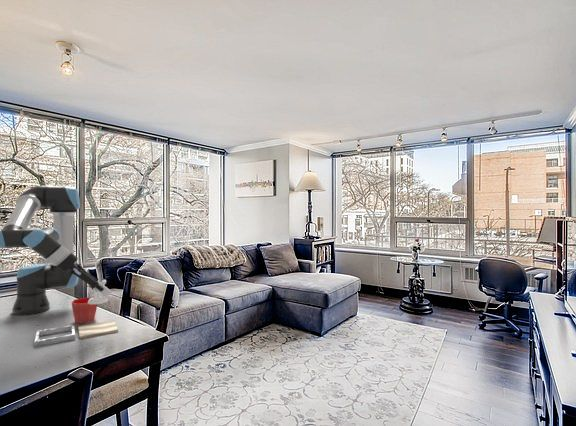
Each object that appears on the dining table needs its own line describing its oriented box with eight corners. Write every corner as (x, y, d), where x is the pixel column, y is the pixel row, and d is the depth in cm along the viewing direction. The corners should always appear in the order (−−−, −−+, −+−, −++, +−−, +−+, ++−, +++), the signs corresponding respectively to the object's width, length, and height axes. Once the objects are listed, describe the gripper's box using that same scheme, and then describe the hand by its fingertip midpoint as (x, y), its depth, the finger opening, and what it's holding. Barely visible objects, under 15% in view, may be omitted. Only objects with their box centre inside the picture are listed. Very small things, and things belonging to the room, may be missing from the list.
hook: (112, 292, 136) (97, 284, 135) (97, 313, 138) (82, 305, 136) (119, 285, 144) (105, 276, 142) (105, 305, 145) (91, 297, 143)
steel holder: (36, 335, 133) (36, 330, 133) (74, 329, 140) (74, 324, 140) (34, 346, 122) (34, 341, 122) (75, 339, 130) (75, 334, 130)
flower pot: (103, 318, 155) (103, 298, 155) (82, 325, 145) (82, 304, 145) (87, 315, 159) (87, 296, 159) (65, 322, 148) (65, 302, 148)
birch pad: (78, 328, 142) (78, 326, 142) (113, 322, 150) (113, 320, 150) (79, 338, 130) (79, 336, 130) (118, 331, 138) (118, 329, 138)
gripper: (55, 263, 138) (99, 295, 148) (54, 269, 124) (102, 305, 133) (70, 250, 141) (112, 282, 151) (71, 254, 127) (117, 290, 136)
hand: (107, 293), depth 142 cm, fingers closed on hook, 4 cm apart
